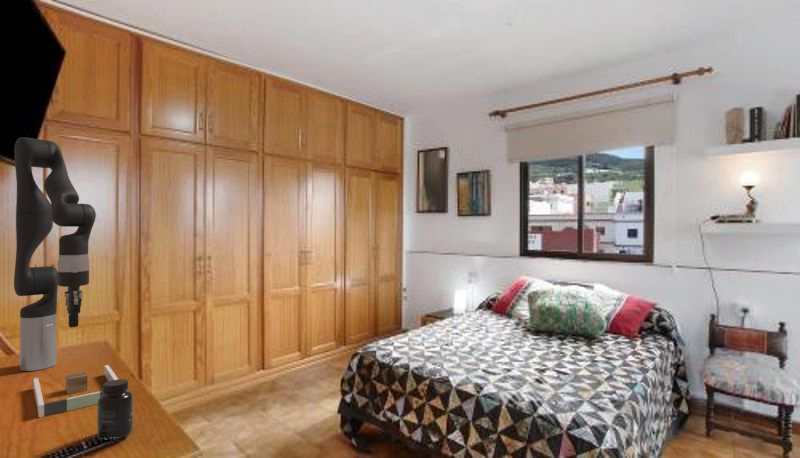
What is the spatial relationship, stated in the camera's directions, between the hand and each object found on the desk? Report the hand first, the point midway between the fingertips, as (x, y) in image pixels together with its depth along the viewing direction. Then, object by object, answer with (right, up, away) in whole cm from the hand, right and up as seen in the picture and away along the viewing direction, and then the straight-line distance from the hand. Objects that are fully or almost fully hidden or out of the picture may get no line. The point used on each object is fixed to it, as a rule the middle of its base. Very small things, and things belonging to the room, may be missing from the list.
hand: (73, 326), depth 127 cm
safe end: (+15, -17, -16) cm, 28 cm away
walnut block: (+5, -17, -6) cm, 19 cm away
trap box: (+7, -17, -8) cm, 20 cm away
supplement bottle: (+33, -18, -30) cm, 48 cm away
